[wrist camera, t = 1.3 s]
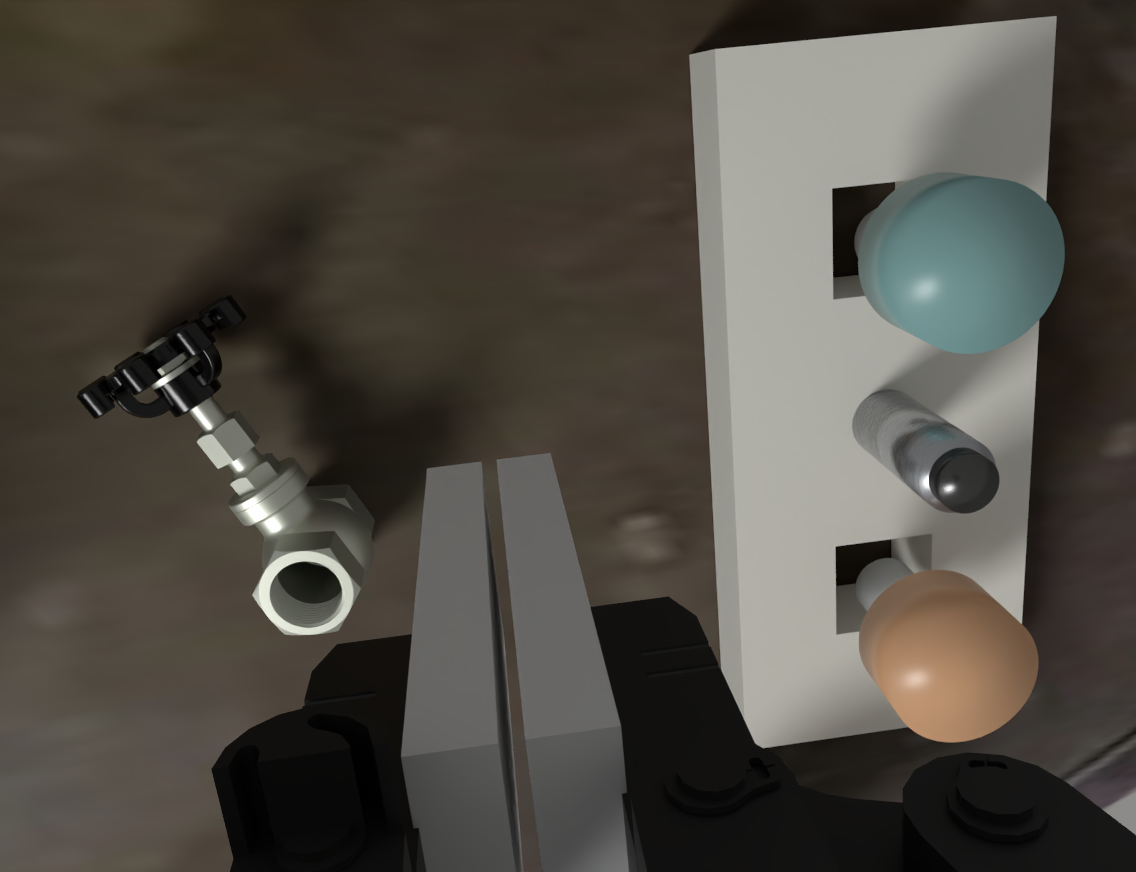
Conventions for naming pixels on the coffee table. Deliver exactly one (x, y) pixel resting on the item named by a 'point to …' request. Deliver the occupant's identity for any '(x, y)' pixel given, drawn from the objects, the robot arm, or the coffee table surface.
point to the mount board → (846, 344)
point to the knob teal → (961, 260)
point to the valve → (253, 478)
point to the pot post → (926, 452)
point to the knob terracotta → (943, 651)
